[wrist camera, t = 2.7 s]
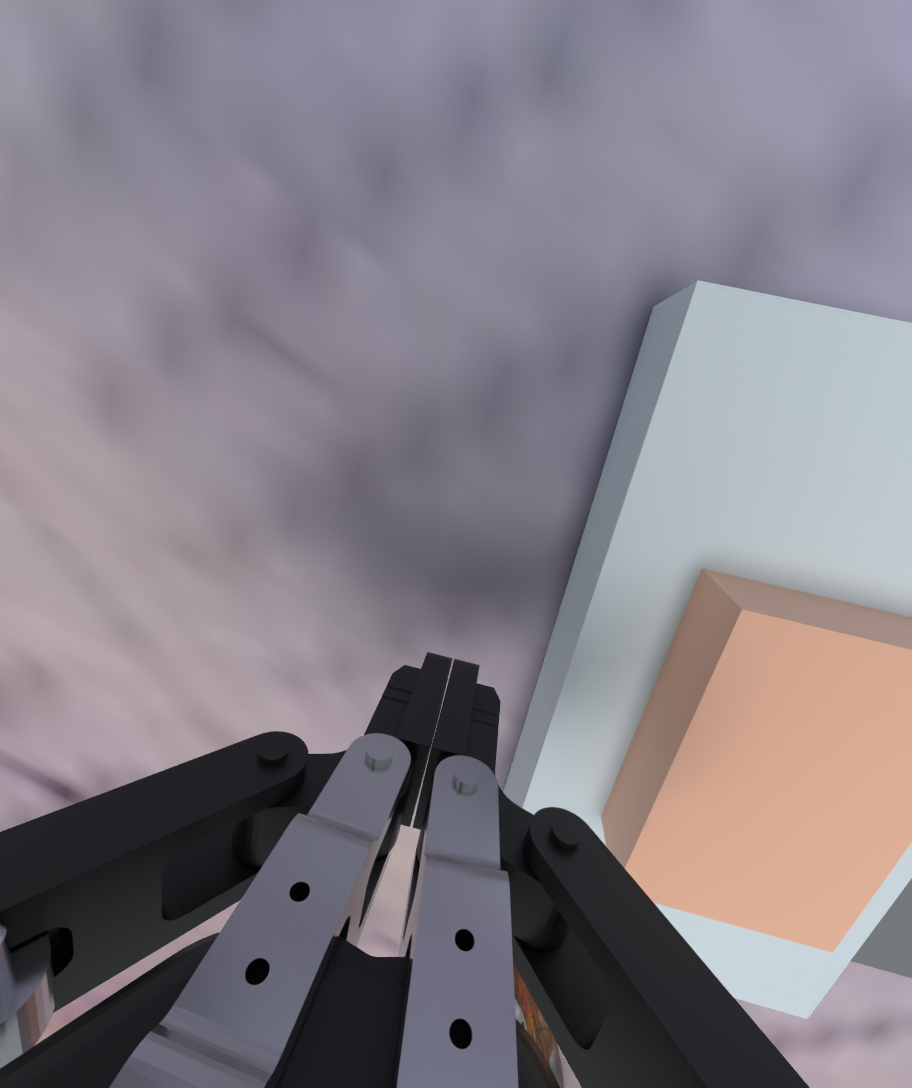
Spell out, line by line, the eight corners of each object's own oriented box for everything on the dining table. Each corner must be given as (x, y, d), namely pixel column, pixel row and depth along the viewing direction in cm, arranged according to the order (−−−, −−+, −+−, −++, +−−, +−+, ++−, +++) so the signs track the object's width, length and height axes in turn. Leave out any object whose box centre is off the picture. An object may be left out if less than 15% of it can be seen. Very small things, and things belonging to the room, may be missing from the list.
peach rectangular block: (702, 568, 13) (741, 609, 11) (934, 622, 12) (1029, 678, 10) (600, 816, 16) (614, 891, 14) (785, 866, 15) (832, 952, 13)
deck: (652, 307, 15) (698, 280, 11) (1068, 391, 14) (1270, 394, 10) (490, 832, 22) (483, 925, 18) (756, 906, 21) (807, 1019, 17)
